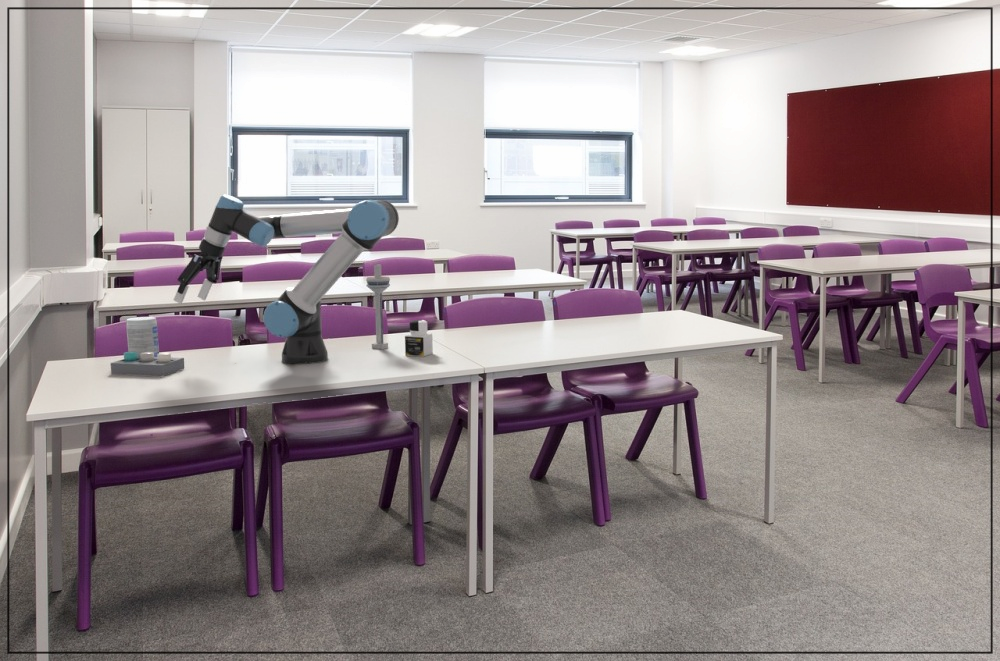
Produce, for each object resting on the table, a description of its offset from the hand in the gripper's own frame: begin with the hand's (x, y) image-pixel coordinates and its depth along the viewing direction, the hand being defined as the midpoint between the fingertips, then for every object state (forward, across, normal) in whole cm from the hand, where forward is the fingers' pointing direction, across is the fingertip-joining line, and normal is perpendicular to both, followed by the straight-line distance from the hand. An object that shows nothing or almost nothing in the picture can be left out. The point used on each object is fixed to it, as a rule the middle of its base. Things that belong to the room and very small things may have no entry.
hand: (189, 300), depth 288 cm
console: (+24, +11, +2) cm, 26 cm away
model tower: (-5, -43, +52) cm, 68 cm away
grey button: (+21, +11, +1) cm, 24 cm away
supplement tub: (+28, -3, -8) cm, 30 cm away
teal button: (+24, +11, -4) cm, 26 cm away
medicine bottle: (-13, -33, +69) cm, 77 cm away
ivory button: (+18, +11, +6) cm, 22 cm away
